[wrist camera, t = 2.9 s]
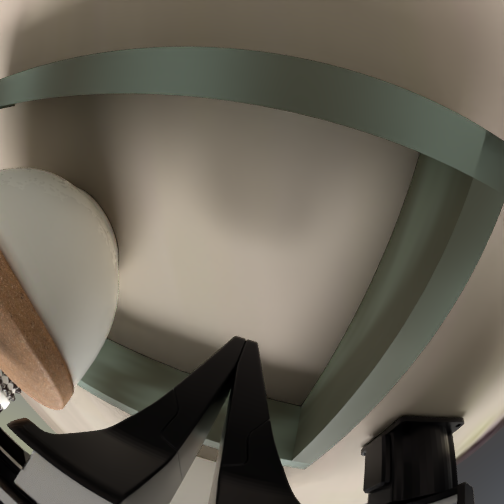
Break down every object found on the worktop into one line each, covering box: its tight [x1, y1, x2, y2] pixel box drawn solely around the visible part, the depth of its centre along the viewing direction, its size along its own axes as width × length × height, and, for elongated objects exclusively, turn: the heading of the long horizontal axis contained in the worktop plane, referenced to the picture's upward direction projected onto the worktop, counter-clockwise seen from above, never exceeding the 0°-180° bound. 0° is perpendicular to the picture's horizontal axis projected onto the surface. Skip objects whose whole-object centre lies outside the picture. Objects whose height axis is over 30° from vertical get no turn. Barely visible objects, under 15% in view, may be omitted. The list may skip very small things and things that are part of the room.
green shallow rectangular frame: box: [0, 47, 504, 469], centre depth 11 cm, size 24×18×5 cm
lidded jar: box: [0, 167, 119, 410], centre depth 10 cm, size 11×11×9 cm
